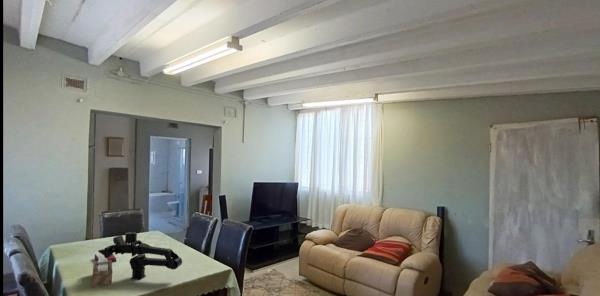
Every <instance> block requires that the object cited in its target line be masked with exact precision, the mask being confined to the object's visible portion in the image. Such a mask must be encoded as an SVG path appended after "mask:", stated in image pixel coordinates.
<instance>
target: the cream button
mask: <svg viewBox="0 0 600 296" xmlns="http://www.w3.org/2000/svg"><path fill="white" fill-rule="evenodd" d="M107 270H108V264H105V265H98V272H99V271H107Z"/></svg>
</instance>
